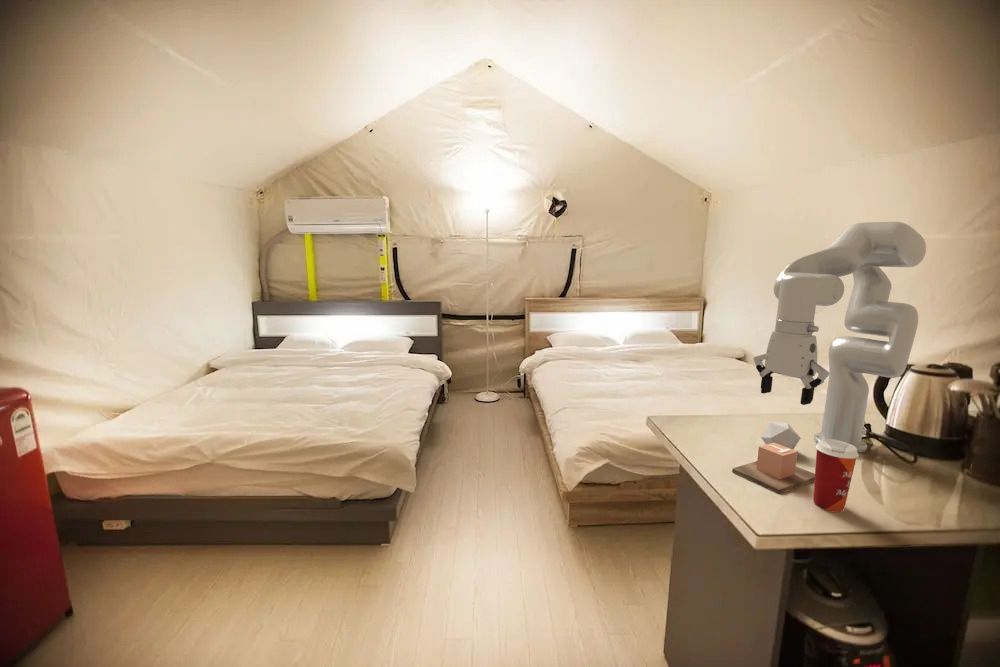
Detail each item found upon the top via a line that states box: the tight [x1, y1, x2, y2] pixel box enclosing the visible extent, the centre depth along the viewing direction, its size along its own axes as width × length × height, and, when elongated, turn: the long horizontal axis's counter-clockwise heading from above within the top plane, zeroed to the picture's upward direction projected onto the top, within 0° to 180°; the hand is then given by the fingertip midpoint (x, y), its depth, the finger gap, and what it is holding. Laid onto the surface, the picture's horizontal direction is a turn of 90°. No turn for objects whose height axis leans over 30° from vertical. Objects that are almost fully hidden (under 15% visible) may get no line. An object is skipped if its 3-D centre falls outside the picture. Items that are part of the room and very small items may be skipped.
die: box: [760, 422, 801, 450], centre depth 133 cm, size 8×9×10 cm
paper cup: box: [813, 439, 860, 513], centre depth 104 cm, size 8×8×14 cm
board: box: [731, 460, 815, 494], centre depth 118 cm, size 16×12×1 cm
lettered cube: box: [756, 443, 798, 479], centre depth 118 cm, size 6×6×6 cm
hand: (785, 398), depth 115 cm, fingers open, 9 cm apart
